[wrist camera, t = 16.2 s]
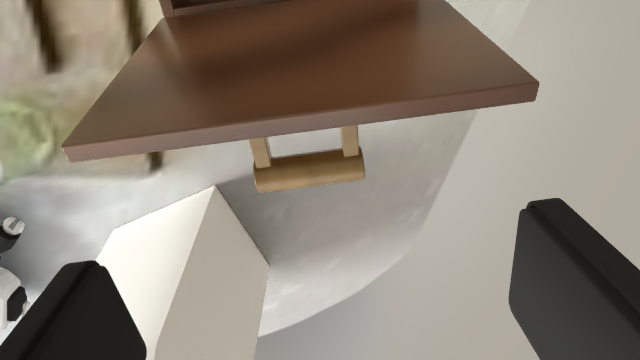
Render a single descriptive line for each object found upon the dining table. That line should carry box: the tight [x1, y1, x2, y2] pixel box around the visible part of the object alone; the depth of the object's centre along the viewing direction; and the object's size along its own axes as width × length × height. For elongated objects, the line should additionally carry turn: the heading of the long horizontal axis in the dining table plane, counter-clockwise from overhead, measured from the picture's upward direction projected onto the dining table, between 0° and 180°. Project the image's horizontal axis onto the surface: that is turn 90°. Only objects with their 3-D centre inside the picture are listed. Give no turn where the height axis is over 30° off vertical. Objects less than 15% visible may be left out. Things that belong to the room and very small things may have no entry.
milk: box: [96, 185, 269, 360], centre depth 32 cm, size 12×12×26 cm
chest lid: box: [61, 0, 539, 193], centre depth 22 cm, size 15×18×5 cm
